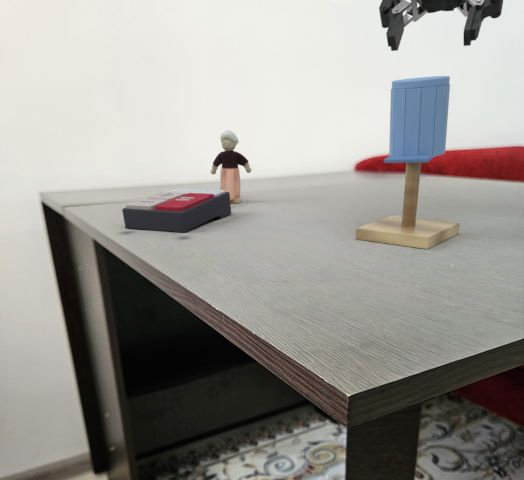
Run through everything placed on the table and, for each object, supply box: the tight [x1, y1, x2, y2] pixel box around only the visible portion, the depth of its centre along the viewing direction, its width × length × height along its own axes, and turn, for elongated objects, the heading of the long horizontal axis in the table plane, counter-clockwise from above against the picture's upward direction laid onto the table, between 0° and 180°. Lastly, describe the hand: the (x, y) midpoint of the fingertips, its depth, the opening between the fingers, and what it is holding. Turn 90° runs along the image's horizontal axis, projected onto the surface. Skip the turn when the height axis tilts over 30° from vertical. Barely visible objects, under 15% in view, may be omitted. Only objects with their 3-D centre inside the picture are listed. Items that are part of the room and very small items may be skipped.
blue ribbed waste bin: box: [383, 75, 451, 164], centre depth 63 cm, size 9×7×8 cm
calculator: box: [121, 187, 232, 233], centre depth 83 cm, size 11×4×15 cm
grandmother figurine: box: [210, 129, 252, 204], centre depth 97 cm, size 8×4×13 cm, turn 90°
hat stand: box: [355, 163, 461, 250], centre depth 66 cm, size 10×10×18 cm
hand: (429, 42), depth 62 cm, fingers open, 8 cm apart
